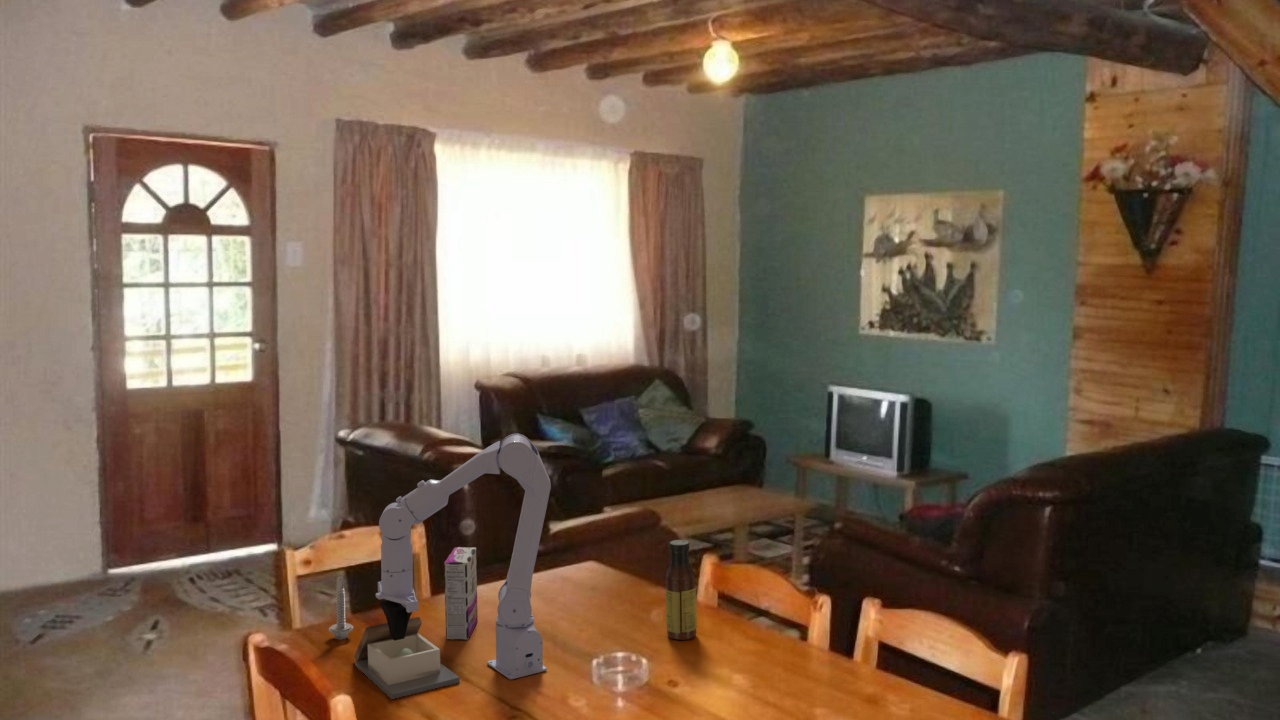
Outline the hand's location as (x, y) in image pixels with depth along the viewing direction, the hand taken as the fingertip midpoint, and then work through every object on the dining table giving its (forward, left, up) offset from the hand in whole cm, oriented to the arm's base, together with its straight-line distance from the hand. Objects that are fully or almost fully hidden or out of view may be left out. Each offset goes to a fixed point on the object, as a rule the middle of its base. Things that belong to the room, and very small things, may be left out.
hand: (398, 638), depth 197 cm
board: (-3, -1, -6) cm, 7 cm away
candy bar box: (+12, -19, -6) cm, 24 cm away
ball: (-2, -1, -4) cm, 5 cm away
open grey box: (-3, 0, -6) cm, 7 cm away
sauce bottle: (-16, -55, -6) cm, 57 cm away
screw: (+22, +3, -6) cm, 24 cm away
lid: (+4, 0, -2) cm, 5 cm away
